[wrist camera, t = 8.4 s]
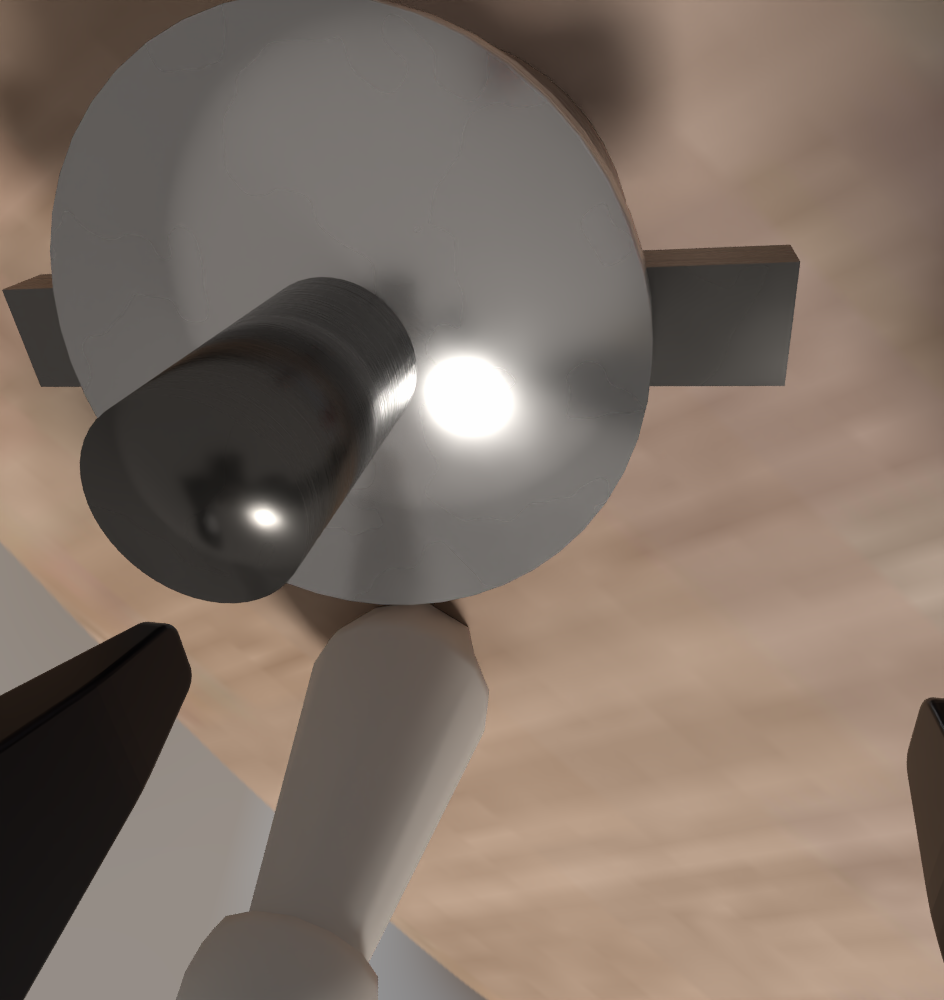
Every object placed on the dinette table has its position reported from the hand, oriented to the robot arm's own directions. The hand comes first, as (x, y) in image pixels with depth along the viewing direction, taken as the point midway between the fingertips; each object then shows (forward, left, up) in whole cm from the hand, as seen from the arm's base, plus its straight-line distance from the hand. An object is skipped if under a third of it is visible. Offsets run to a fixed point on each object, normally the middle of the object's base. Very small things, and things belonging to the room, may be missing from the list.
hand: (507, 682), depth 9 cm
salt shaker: (+6, +11, -13) cm, 18 cm away
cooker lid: (+4, -2, -7) cm, 8 cm away
